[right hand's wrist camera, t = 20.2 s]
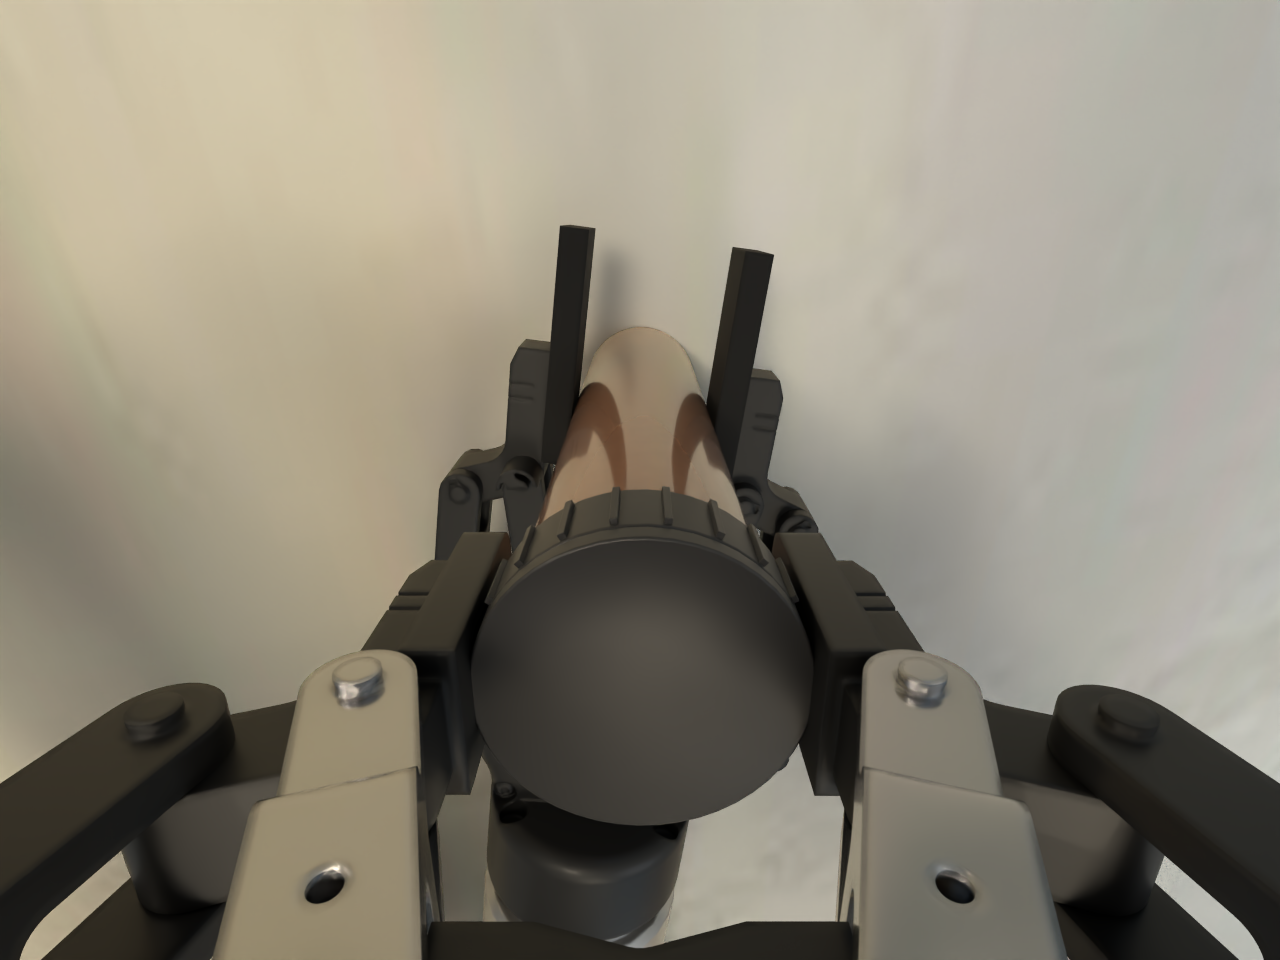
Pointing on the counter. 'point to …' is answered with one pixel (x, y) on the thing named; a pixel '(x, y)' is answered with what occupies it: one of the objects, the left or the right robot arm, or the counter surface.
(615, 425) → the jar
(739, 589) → the lid
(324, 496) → the counter surface
